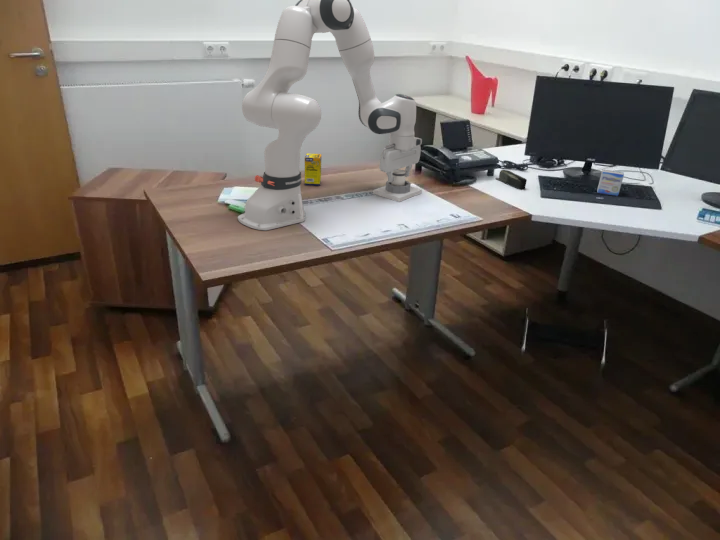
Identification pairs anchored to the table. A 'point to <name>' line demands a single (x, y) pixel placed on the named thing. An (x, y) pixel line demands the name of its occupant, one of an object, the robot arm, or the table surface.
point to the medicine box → (610, 182)
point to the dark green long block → (512, 179)
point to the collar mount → (397, 191)
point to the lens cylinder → (398, 177)
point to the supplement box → (313, 169)
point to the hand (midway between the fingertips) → (398, 179)
